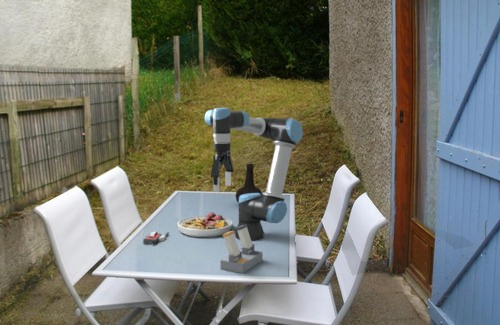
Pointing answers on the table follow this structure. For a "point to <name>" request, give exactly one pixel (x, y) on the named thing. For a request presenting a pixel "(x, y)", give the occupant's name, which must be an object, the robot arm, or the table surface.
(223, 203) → the table surface
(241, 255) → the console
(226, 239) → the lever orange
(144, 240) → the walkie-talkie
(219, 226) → the bowl
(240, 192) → the glass bottle
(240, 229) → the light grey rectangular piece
